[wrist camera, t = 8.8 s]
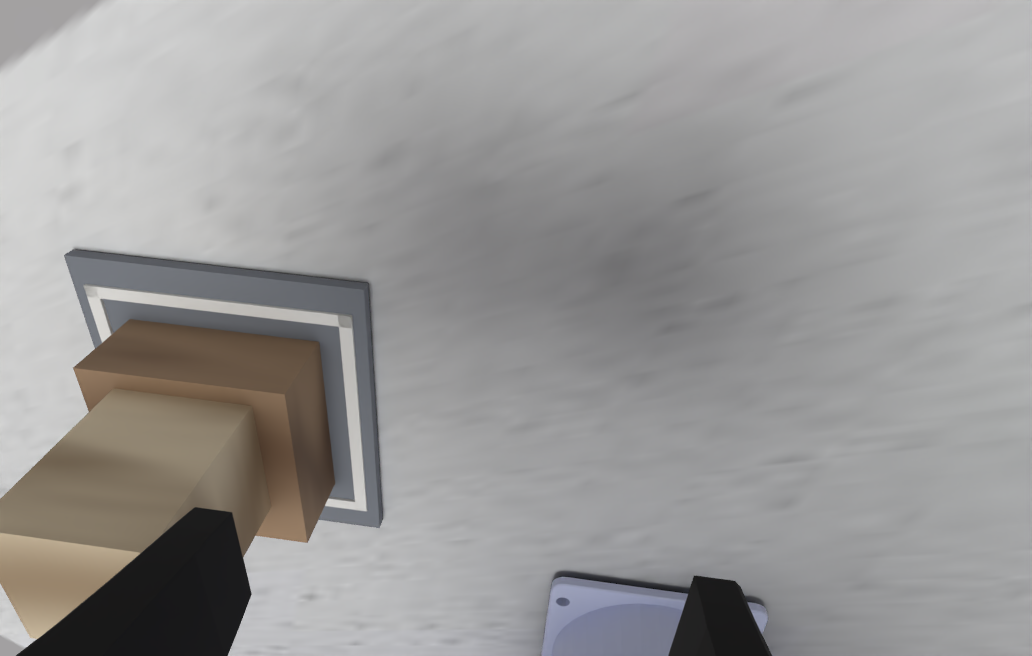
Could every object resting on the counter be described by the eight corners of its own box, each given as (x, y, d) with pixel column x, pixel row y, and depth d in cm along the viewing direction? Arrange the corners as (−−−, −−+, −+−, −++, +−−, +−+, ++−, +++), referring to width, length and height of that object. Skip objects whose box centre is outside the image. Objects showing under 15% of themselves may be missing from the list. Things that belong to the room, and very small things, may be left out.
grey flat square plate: (382, 519, 25) (378, 530, 24) (149, 487, 25) (142, 497, 25) (368, 283, 19) (362, 291, 19) (73, 249, 20) (61, 256, 20)
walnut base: (335, 483, 23) (307, 542, 21) (171, 461, 24) (127, 517, 22) (319, 341, 20) (284, 394, 18) (129, 319, 21) (73, 367, 18)
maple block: (271, 507, 21) (185, 661, 16) (146, 490, 21) (30, 637, 17) (252, 406, 18) (147, 553, 14) (113, 388, 19) (-30, 528, 14)
